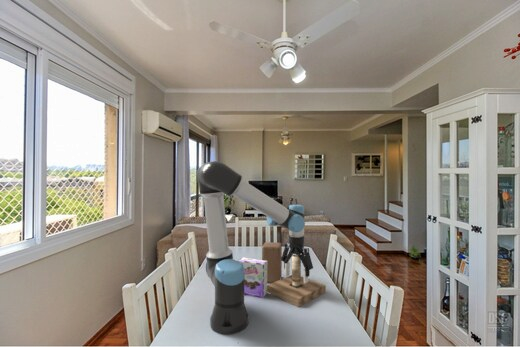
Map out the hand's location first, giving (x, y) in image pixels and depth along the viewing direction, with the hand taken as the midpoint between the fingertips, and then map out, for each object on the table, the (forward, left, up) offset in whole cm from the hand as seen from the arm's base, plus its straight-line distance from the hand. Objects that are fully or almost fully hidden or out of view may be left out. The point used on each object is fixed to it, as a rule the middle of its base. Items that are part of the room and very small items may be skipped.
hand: (296, 279), depth 131 cm
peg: (0, 0, -7) cm, 7 cm away
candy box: (-17, +14, -7) cm, 23 cm away
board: (0, 0, -7) cm, 7 cm away
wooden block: (+2, +19, -7) cm, 20 cm away
